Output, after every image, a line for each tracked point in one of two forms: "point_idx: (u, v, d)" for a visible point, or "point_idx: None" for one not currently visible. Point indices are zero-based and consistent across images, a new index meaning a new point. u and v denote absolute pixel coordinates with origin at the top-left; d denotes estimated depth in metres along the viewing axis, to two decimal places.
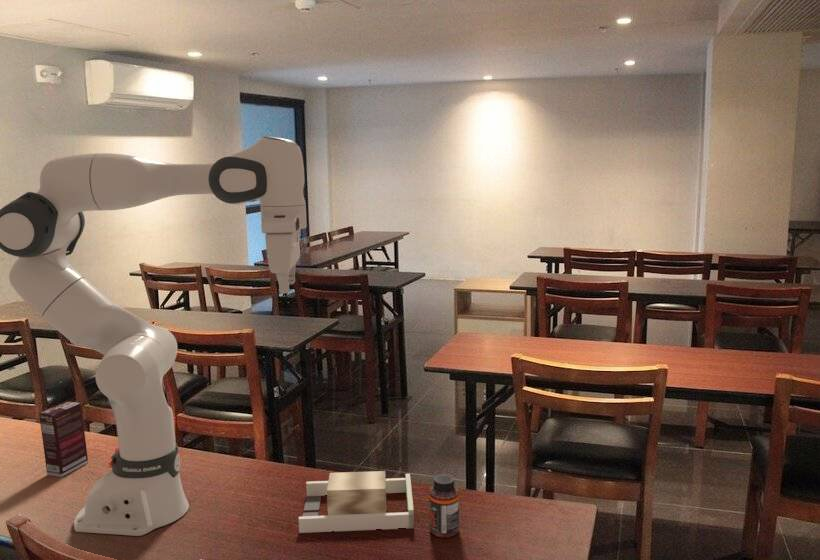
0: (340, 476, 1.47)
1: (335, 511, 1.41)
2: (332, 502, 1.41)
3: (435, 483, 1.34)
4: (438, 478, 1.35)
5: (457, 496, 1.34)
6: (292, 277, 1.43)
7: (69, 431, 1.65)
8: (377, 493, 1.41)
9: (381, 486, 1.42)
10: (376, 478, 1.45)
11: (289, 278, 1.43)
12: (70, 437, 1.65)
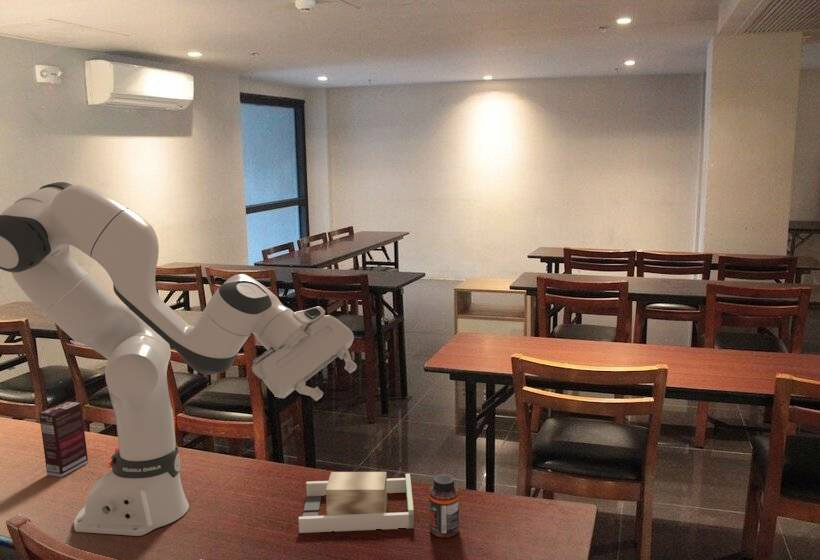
0: (341, 475, 1.47)
1: (334, 510, 1.42)
2: (331, 501, 1.41)
3: (435, 483, 1.34)
4: (438, 478, 1.35)
5: (457, 496, 1.34)
6: None
7: (69, 431, 1.65)
8: (376, 493, 1.41)
9: (381, 486, 1.42)
10: (376, 479, 1.45)
11: None
12: (70, 437, 1.65)
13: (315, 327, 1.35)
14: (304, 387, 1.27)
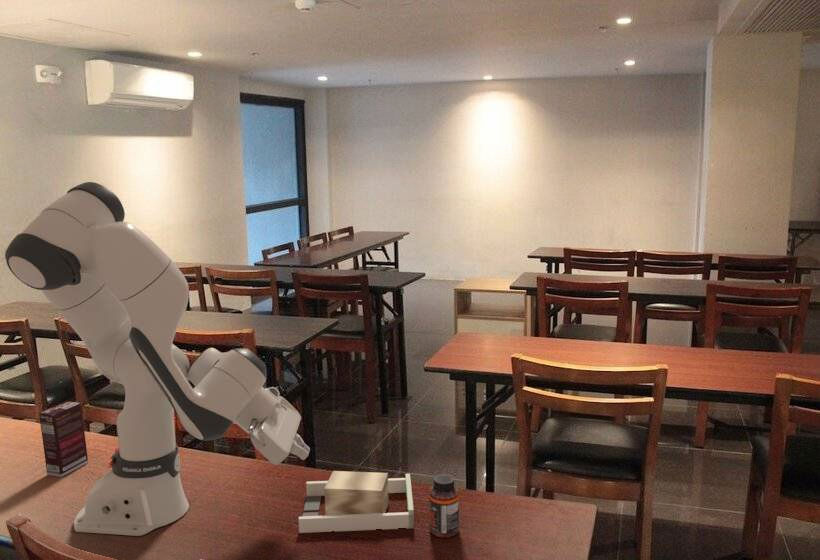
0: (342, 475, 1.47)
1: (332, 509, 1.42)
2: (330, 500, 1.42)
3: (435, 483, 1.34)
4: (438, 478, 1.35)
5: (457, 496, 1.34)
6: None
7: (69, 431, 1.65)
8: (373, 494, 1.40)
9: (379, 487, 1.41)
10: (376, 480, 1.45)
11: None
12: (70, 437, 1.65)
13: (279, 404, 1.45)
14: (298, 446, 1.40)
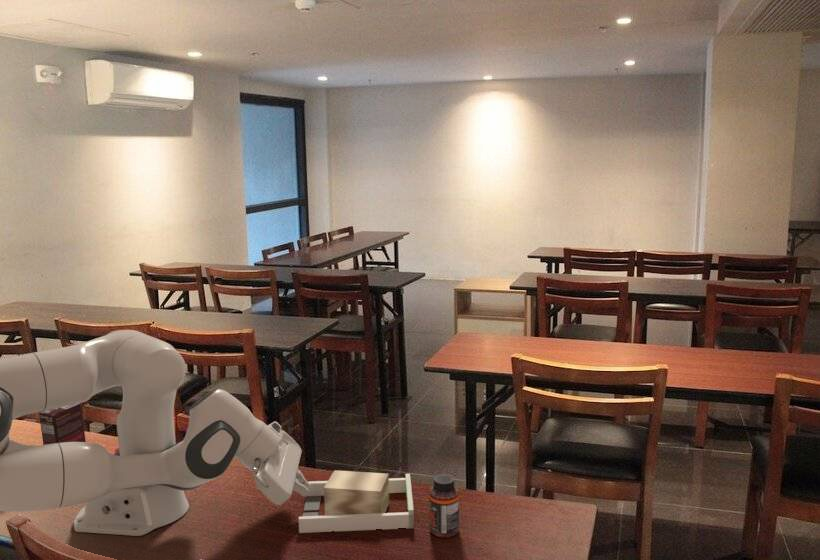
0: (343, 474, 1.47)
1: (332, 508, 1.42)
2: (329, 499, 1.42)
3: (435, 483, 1.34)
4: (438, 478, 1.35)
5: (457, 496, 1.34)
6: None
7: (69, 431, 1.65)
8: (372, 495, 1.40)
9: (378, 488, 1.41)
10: (376, 480, 1.44)
11: None
12: (70, 437, 1.65)
13: (281, 440, 1.47)
14: (299, 483, 1.42)
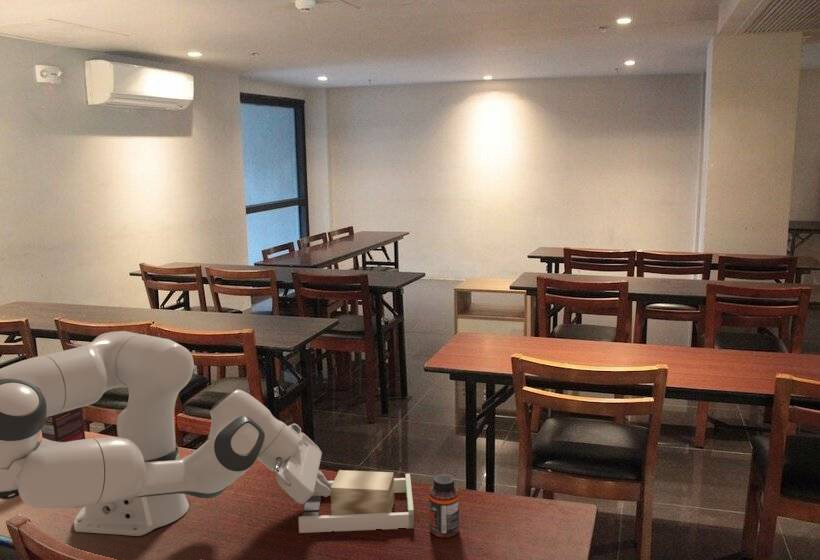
0: (348, 474, 1.47)
1: (338, 508, 1.42)
2: (336, 499, 1.42)
3: (435, 483, 1.34)
4: (438, 478, 1.35)
5: (457, 496, 1.34)
6: None
7: (69, 431, 1.65)
8: (380, 494, 1.41)
9: (385, 487, 1.41)
10: (382, 479, 1.45)
11: None
12: (70, 437, 1.65)
13: (301, 441, 1.47)
14: (321, 483, 1.42)
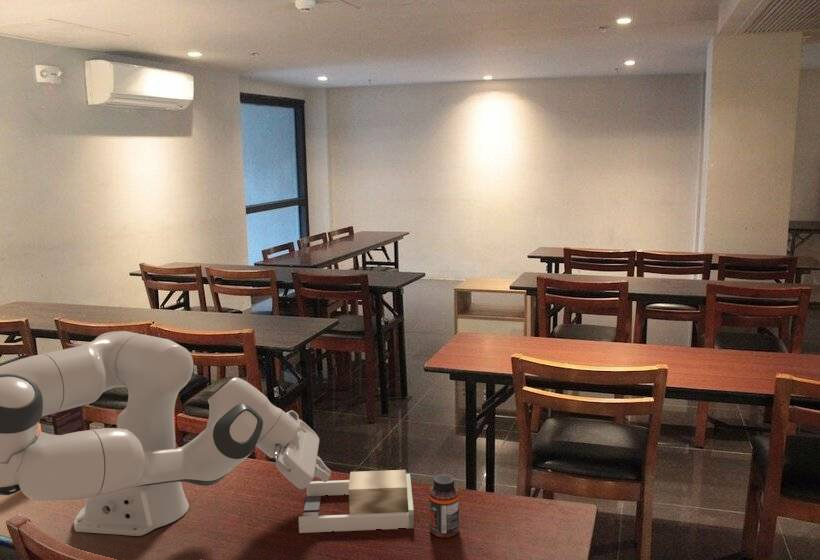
0: (361, 475, 1.47)
1: (357, 510, 1.42)
2: (354, 500, 1.41)
3: (435, 483, 1.34)
4: (438, 478, 1.35)
5: (457, 496, 1.34)
6: None
7: (69, 431, 1.65)
8: (399, 491, 1.42)
9: (403, 484, 1.43)
10: (397, 477, 1.46)
11: None
12: None
13: (299, 427, 1.47)
14: (320, 469, 1.43)
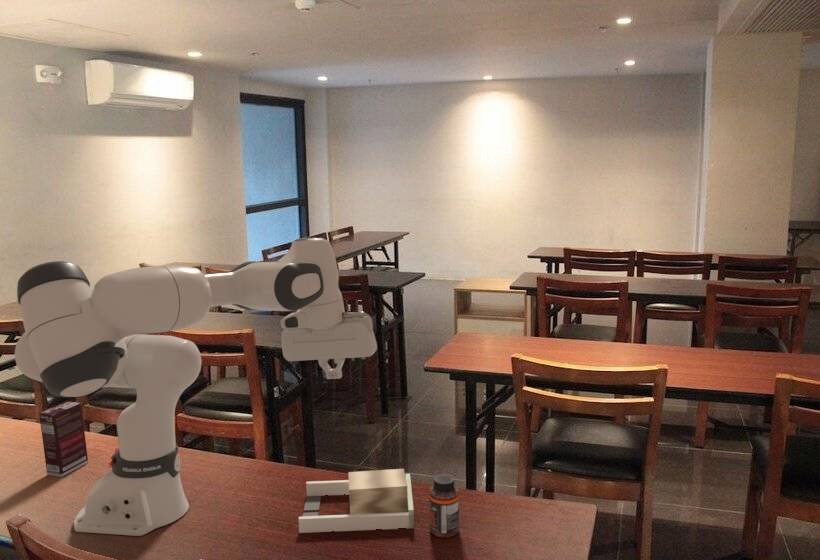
0: (359, 475, 1.47)
1: (357, 510, 1.42)
2: (355, 501, 1.41)
3: (435, 483, 1.34)
4: (438, 478, 1.35)
5: (457, 496, 1.34)
6: None
7: (69, 431, 1.65)
8: (399, 490, 1.42)
9: (403, 483, 1.43)
10: (396, 476, 1.46)
11: None
12: (70, 437, 1.65)
13: None
14: None
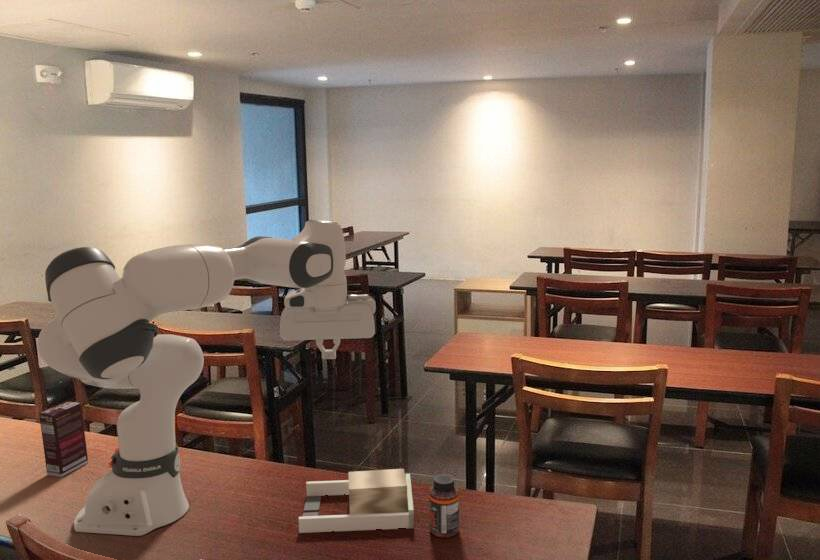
0: (359, 475, 1.47)
1: (357, 509, 1.42)
2: (354, 500, 1.41)
3: (435, 483, 1.34)
4: (438, 478, 1.35)
5: (457, 496, 1.34)
6: None
7: (69, 431, 1.65)
8: (399, 490, 1.42)
9: (403, 483, 1.43)
10: (396, 476, 1.46)
11: None
12: (70, 436, 1.65)
13: None
14: None
